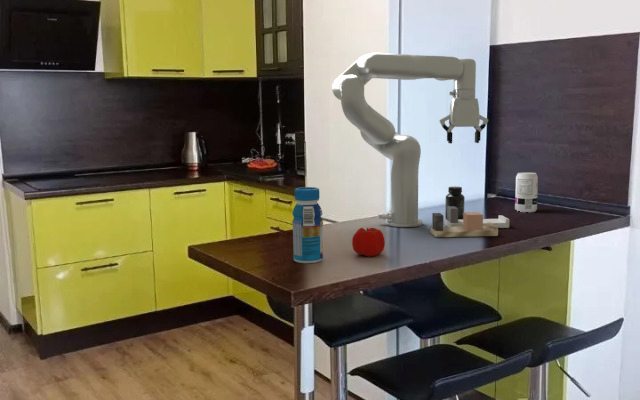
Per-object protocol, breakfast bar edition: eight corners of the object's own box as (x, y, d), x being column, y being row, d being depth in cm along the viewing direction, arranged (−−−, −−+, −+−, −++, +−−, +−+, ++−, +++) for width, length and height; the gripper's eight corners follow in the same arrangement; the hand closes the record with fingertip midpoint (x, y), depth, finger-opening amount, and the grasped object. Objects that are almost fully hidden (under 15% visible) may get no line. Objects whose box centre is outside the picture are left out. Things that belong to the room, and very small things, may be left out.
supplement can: (510, 210, 250) (511, 172, 248) (528, 208, 253) (529, 171, 251) (523, 213, 243) (524, 174, 240) (541, 211, 245) (542, 173, 243)
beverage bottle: (286, 261, 172) (285, 189, 169) (304, 255, 179) (303, 185, 176) (312, 265, 167) (310, 191, 164) (329, 258, 174) (328, 187, 171)
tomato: (375, 250, 184) (375, 225, 183) (389, 256, 176) (389, 230, 175) (346, 253, 181) (346, 227, 180) (359, 260, 173) (359, 233, 172)
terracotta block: (467, 230, 201) (467, 215, 201) (463, 227, 206) (463, 212, 206) (482, 230, 202) (483, 214, 201) (478, 227, 206) (478, 212, 206)
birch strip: (435, 237, 200) (435, 216, 199) (430, 232, 208) (430, 212, 207) (497, 235, 200) (498, 215, 199) (490, 231, 208) (490, 211, 207)
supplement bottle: (460, 217, 236) (461, 185, 234) (466, 220, 229) (467, 188, 227) (442, 218, 235) (443, 186, 233) (448, 221, 228) (449, 188, 226)
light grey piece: (450, 228, 213) (451, 209, 212) (445, 224, 221) (445, 205, 220) (509, 227, 214) (509, 208, 213) (501, 223, 221) (502, 204, 220)
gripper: (442, 94, 218) (441, 144, 221) (491, 94, 219) (490, 143, 221) (437, 95, 226) (437, 142, 228) (485, 94, 226) (484, 142, 229)
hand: (463, 143), depth 225 cm, fingers open, 9 cm apart
